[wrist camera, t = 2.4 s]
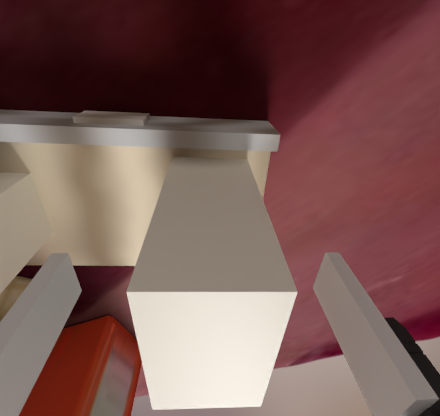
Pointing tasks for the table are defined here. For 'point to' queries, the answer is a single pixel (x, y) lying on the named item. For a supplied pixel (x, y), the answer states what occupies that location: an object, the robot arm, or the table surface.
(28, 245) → the carton
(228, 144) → the thin cream board
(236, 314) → the carton
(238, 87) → the table surface
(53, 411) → the file binder
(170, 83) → the table surface
